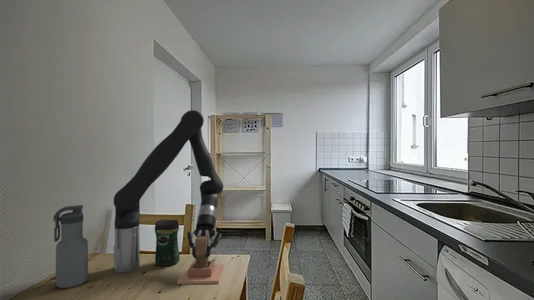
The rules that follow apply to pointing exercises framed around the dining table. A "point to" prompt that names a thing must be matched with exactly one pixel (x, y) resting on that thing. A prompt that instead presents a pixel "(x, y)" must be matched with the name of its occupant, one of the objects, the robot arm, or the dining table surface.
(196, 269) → the terracotta holder
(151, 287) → the dining table surface
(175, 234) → the coffee jar
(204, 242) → the walnut post
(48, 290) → the dining table surface
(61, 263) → the water bottle
